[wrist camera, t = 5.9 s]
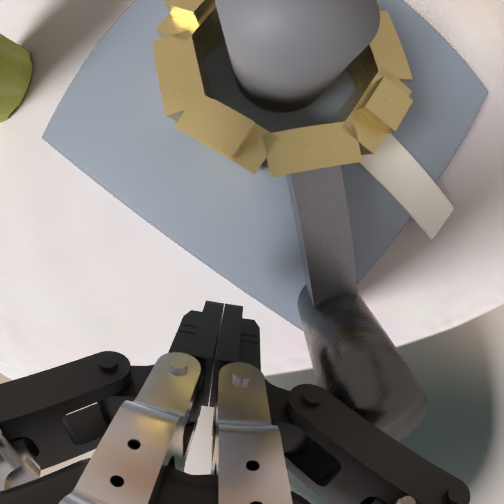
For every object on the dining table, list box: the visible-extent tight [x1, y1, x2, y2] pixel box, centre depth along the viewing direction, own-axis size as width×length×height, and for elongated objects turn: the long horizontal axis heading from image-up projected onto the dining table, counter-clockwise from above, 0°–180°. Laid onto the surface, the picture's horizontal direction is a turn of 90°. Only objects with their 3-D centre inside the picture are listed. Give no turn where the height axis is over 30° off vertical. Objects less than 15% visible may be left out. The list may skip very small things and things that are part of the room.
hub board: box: [42, 0, 488, 331], centre depth 9 cm, size 20×22×8 cm
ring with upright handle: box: [152, 0, 429, 441], centre depth 8 cm, size 19×10×8 cm, turn 13°
